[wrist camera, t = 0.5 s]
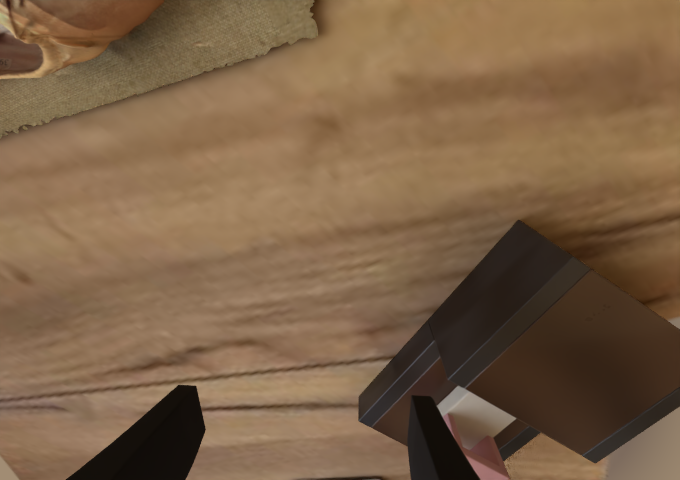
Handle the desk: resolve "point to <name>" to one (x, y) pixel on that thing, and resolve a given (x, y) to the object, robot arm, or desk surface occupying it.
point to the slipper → (476, 431)
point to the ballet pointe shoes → (127, 48)
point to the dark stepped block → (538, 353)
